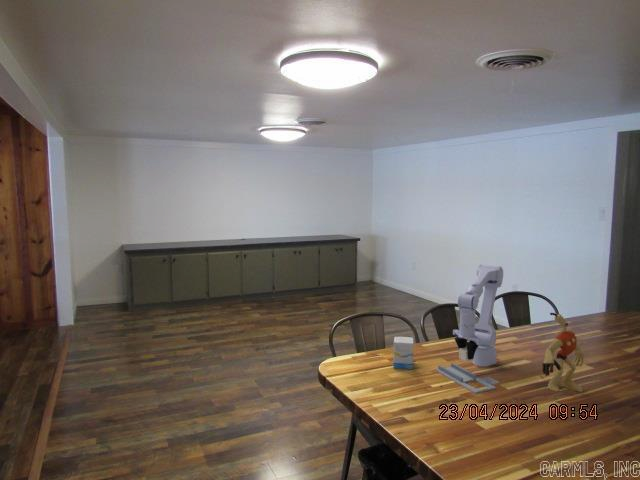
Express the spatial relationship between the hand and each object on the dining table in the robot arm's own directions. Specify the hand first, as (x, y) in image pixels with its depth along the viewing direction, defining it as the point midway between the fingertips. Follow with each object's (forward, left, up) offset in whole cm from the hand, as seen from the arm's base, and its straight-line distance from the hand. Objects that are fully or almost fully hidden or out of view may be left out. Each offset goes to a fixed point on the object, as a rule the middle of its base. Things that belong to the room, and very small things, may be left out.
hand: (466, 356), depth 177 cm
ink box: (+15, -23, -10) cm, 29 cm away
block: (0, 0, -1) cm, 1 cm away
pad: (-5, +7, -9) cm, 13 cm away
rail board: (+3, +2, -9) cm, 10 cm away
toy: (-24, +23, -10) cm, 35 cm away
